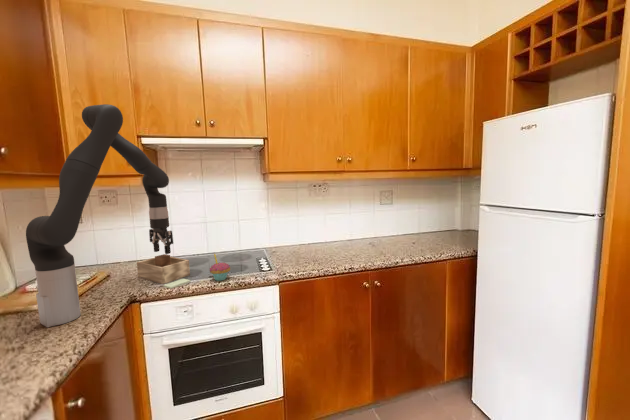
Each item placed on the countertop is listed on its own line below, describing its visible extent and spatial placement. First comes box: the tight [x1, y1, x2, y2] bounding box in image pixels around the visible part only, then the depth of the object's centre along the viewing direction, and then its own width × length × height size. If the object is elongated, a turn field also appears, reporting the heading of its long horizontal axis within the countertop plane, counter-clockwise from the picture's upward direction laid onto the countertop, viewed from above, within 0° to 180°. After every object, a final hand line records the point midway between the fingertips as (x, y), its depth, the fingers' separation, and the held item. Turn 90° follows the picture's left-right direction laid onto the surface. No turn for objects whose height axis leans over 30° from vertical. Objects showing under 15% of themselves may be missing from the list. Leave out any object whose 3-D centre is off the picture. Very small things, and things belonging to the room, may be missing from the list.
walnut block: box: [154, 253, 171, 267], centre depth 132 cm, size 4×4×7 cm
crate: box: [136, 256, 191, 285], centre depth 132 cm, size 13×19×7 cm
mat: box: [162, 278, 191, 289], centre depth 122 cm, size 9×5×1 cm, turn 149°
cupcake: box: [209, 252, 231, 282], centre depth 127 cm, size 9×8×12 cm
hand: (162, 252), depth 132 cm, fingers open, 8 cm apart
